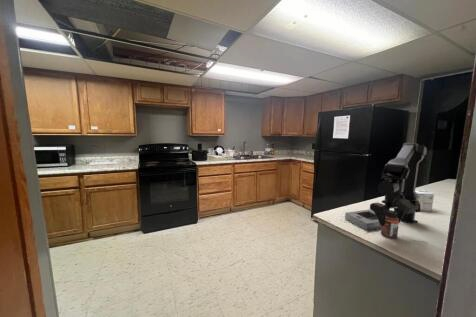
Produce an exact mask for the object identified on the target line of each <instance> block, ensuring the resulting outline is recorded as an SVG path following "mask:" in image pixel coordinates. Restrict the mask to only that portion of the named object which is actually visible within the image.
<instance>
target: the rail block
mask: <svg viewBox="0 0 476 317" xmlns="http://www.w3.org/2000/svg"><path fill="white" fill-rule="evenodd" d="M344 219H345V220H346V221H348V222H350V223H352V224H354V225H355V224H356V226H358V227H359V228H361V229H362V230H364V231H373V230H377V229H381V225H380V223H379V221H378V218H377V216H376V214H375V213H374V211H372V210H371V209H370V208H369V209H365V210H364V209H363V210H355V211H348V212H345V215H344Z"/></svg>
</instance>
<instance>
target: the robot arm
mask: <svg viewBox="0 0 476 317" xmlns="http://www.w3.org/2000/svg"><path fill="white" fill-rule="evenodd" d="M426 155H427V147H426V146H425V145H421V144H419V143H416V142H404V143H403V144H402V147H401V149H400V150H399V152H398V153H397V155H396V157H395V158H393V159H390V160H388V162H387V163H386V164H385V165H384V168H383V170H382V172H381V176H380V178H381V179H383V181H381V182H379V184H378V185H377V186H376V187H377V191H378V193H380V194H381V195H383V196H384V199H382V200H381V203H380V202H372V203H370V204H369V209H371V210H372V211H374V213H375V214H376V216H377V218H378V221H379V223H380V225H381V226H384V222H385V218H386V216H387V215H389V213H388V212H389V210H391V209H393V211H395V212H397V217H398V218H399V224H400V223H401V222H404V223H406V224H413V223H418V220H415V219H416V218H415V217H416V213H421V211H422V210H421V206H420V202H419V201H418V195H417V194H416V192H415V190H416V187H417V179H418V173H419V164H420V162H422V161H423V160H424V159H425V156H426Z"/></svg>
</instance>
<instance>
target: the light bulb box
mask: <svg viewBox="0 0 476 317" xmlns="http://www.w3.org/2000/svg"><path fill="white" fill-rule="evenodd" d="M415 192H416V194H417V195H418V201H419V202H420V206H421V211H427V212H428V211H429V212H431V211H433V204H434V197H435V193H434V192H431V191H428V190H416V189H415Z"/></svg>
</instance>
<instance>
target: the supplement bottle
mask: <svg viewBox="0 0 476 317" xmlns="http://www.w3.org/2000/svg"><path fill="white" fill-rule="evenodd" d="M388 213H389V215H387V216H386V218H385V222H384V226H381V228H380V234H381V235H382V236H384V237H386V238H389V239H395V238H397V237H398V231H399V227H400V226H399V225H400V223H399V218H398V217H397V212H395V211H394V210H391V209H390V210H389V212H388Z"/></svg>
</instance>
